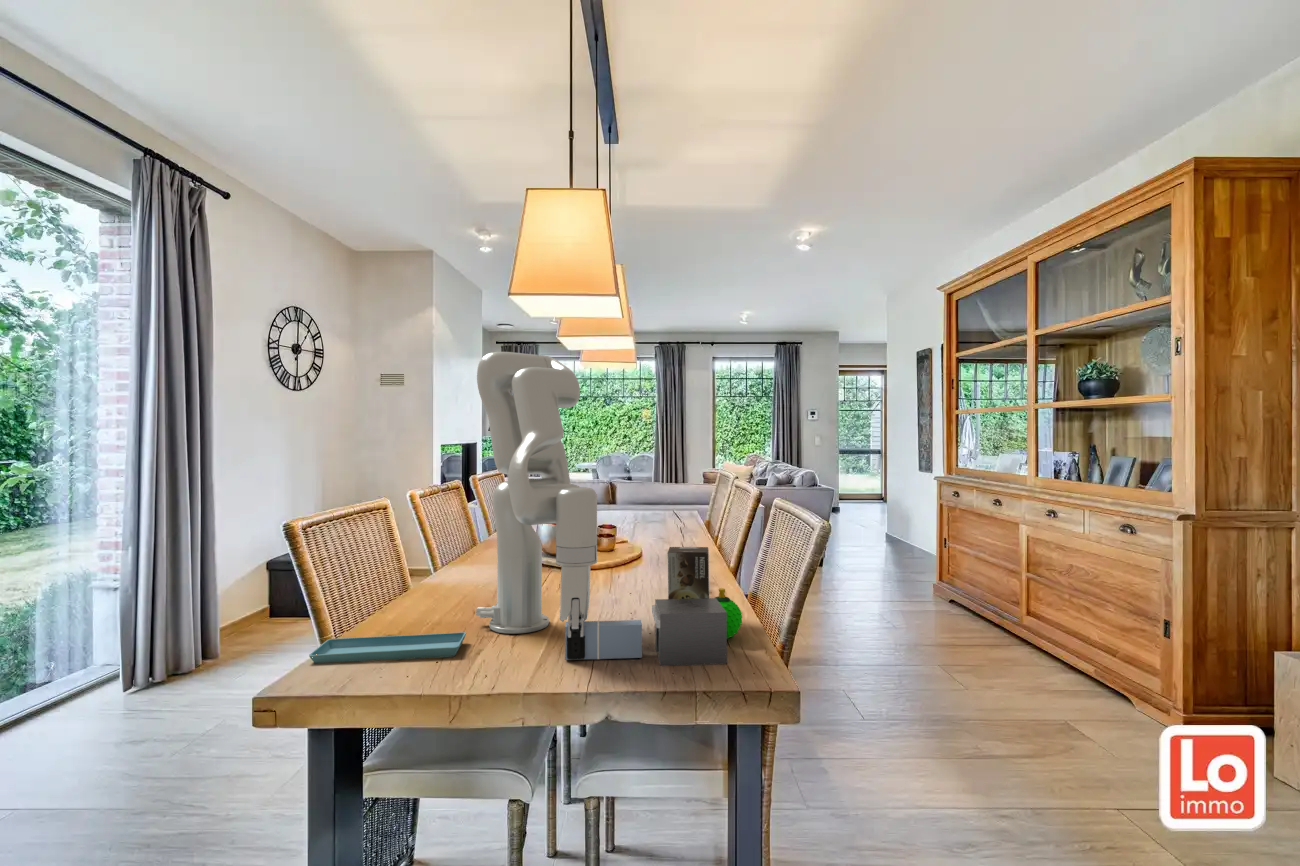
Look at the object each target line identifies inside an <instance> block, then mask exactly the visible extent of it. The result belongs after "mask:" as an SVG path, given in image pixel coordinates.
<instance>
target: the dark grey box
mask: <svg viewBox="0 0 1300 866" xmlns="http://www.w3.org/2000/svg"><path fill="white" fill-rule="evenodd" d="M651 613H652V617H653V621H654V648H655V652H656V653H658V663H659V666H660V667H663V666H664V667H665V666H694V665H695V666H696V665H698V666H701V665H703V666H704V665H726V664H728V660H727V657H728V655H727V653H728V652H727V651H728V650H727V649H728V647H727V646H728V644H727V640H728V639H727V612H726V611H725V609H724V608H723V607H722V605H721V604H720V603H719V601H718V600H717V599H716V598H715V597H711V598H710V597H709V598H699V599H668V598H665V599H664V598H659V599H656V598H655V599H654V604H652V605H651Z"/></svg>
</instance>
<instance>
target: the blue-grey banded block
mask: <svg viewBox="0 0 1300 866" xmlns="http://www.w3.org/2000/svg"><path fill="white" fill-rule="evenodd" d="M571 625H572V623H571ZM579 625H580V626H581V623H579ZM580 632H581V631H580ZM567 636H568V621H565V624H564V660H565V661H571V660H574V661H575V660H579V661H580V659H567ZM584 636H585V658H584V659H583V660H609V659H614V660H615V659H638V658H639V659H641V658H643V623H642V620H641V619H631V620H629V619H625V620H588V621H587V620H585V621H584Z"/></svg>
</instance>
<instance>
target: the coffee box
mask: <svg viewBox="0 0 1300 866" xmlns="http://www.w3.org/2000/svg"><path fill="white" fill-rule="evenodd" d="M709 554H710V552H709V547H708V546H669V549H668V551H667V592H668V593H667V594H668V595H667V599H699V598H710V568H709V567H710V558H709V557H710V555H709Z"/></svg>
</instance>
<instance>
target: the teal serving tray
mask: <svg viewBox="0 0 1300 866" xmlns="http://www.w3.org/2000/svg"><path fill="white" fill-rule="evenodd" d="M466 634H467V632H465V631H464V632H447V633H446V632H445V633H430V634H429V633H426V634H425V633H424V634H409V635H406V634H405V635H403V634H402V635H389V636H388V635H386V636H385V635H384V636H383V635H382V636H364V637H344V638H330V639H327V640H326V641H324V642H323V643H322V644H320V645H319V646H318V647H317V648H316V649H314V650H313V651H312V652H310V653H309V658H310V660H311V661H312V662H313V663H315V664H317V663H321V664H322V663H344V662H366V661H367V662H369V661H388V660H389V661H391V660H410V659H413V660H414V659H430V658H431V659H435V658H453V657H455V656H457V653H458V652H459V649H460V648H461V646H462V644H463V642H464V640H465V637H466ZM316 654H317V655H316ZM312 657H313V658H312Z"/></svg>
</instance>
